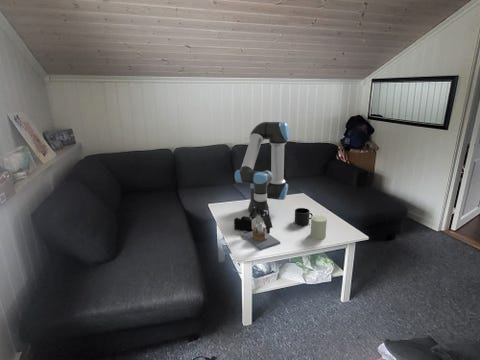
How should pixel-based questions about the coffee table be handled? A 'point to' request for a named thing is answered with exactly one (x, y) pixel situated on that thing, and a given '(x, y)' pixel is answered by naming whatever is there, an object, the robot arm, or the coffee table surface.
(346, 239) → the coffee table surface
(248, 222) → the film camera
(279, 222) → the coffee table surface
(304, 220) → the mug
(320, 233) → the can
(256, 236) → the collar
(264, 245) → the post board
